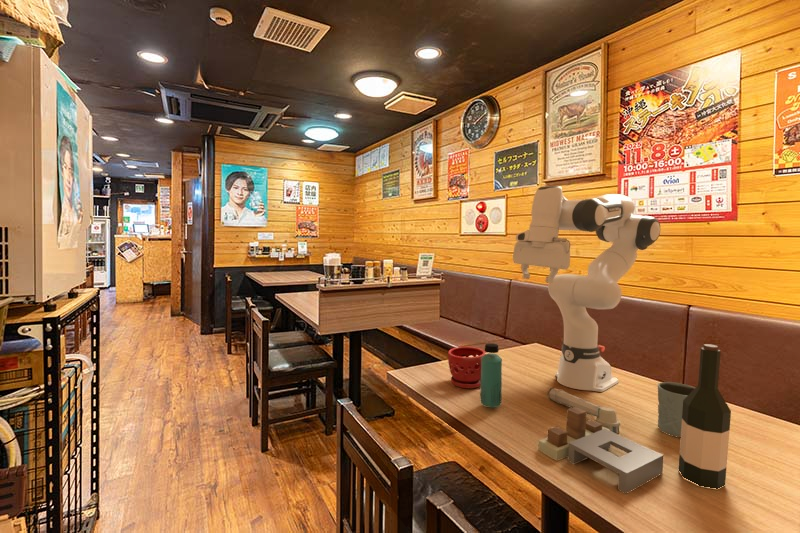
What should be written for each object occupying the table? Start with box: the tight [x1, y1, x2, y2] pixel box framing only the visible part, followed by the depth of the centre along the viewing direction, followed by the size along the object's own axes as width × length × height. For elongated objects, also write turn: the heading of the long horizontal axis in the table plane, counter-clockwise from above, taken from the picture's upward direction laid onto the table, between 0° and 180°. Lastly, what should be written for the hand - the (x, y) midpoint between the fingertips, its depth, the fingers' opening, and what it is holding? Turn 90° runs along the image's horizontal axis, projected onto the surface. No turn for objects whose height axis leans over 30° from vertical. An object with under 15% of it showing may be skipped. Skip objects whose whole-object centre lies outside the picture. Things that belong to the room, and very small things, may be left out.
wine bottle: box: [678, 343, 732, 490], centre depth 88 cm, size 8×8×30 cm
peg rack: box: [538, 426, 610, 462], centre depth 103 cm, size 21×5×2 cm, turn 120°
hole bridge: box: [567, 429, 664, 494], centre depth 93 cm, size 14×14×4 cm
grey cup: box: [657, 381, 696, 438], centre depth 111 cm, size 10×10×12 cm
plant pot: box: [447, 346, 486, 390], centre depth 144 cm, size 13×13×12 cm
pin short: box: [586, 419, 602, 433], centre depth 107 cm, size 3×3×4 cm
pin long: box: [565, 407, 587, 440], centre depth 103 cm, size 3×3×9 cm
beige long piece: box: [547, 387, 621, 434], centre depth 120 cm, size 5×7×25 cm
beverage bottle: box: [479, 342, 503, 408], centre depth 124 cm, size 6×7×20 cm
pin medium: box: [547, 426, 567, 448], centre depth 100 cm, size 3×3×6 cm
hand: (537, 280), depth 128 cm, fingers open, 8 cm apart
